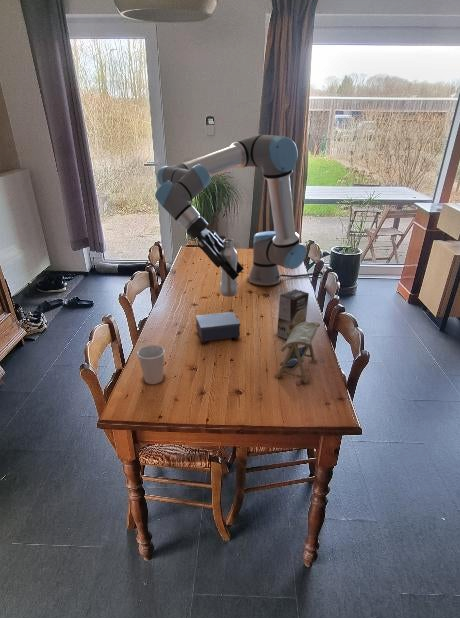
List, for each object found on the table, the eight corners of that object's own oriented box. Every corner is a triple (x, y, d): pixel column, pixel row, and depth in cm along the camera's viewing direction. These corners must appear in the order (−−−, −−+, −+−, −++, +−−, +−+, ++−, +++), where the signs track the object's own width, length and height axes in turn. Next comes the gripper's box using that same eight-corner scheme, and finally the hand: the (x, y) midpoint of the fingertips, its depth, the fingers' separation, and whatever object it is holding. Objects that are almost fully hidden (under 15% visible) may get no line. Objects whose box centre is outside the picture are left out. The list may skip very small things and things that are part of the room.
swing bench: (288, 356, 149) (292, 317, 141) (316, 361, 146) (321, 321, 138) (276, 378, 137) (279, 336, 129) (306, 384, 134) (311, 342, 126)
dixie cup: (144, 388, 132) (140, 360, 126) (137, 375, 138) (133, 347, 133) (170, 382, 135) (168, 355, 129) (162, 369, 141) (160, 342, 136)
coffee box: (289, 341, 158) (293, 300, 149) (276, 335, 162) (278, 295, 153) (305, 333, 163) (309, 293, 155) (291, 327, 167) (295, 288, 159)
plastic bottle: (236, 299, 154) (236, 243, 144) (217, 298, 156) (217, 242, 145) (239, 292, 160) (240, 238, 149) (221, 291, 161) (221, 237, 150)
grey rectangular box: (233, 328, 167) (233, 311, 163) (240, 340, 158) (240, 323, 154) (196, 332, 164) (195, 315, 160) (201, 345, 155) (200, 327, 151)
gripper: (195, 224, 157) (238, 272, 162) (175, 238, 142) (223, 290, 147) (209, 210, 153) (252, 259, 158) (190, 222, 138) (239, 276, 143)
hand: (238, 274), depth 152 cm, fingers closed on plastic bottle, 6 cm apart
